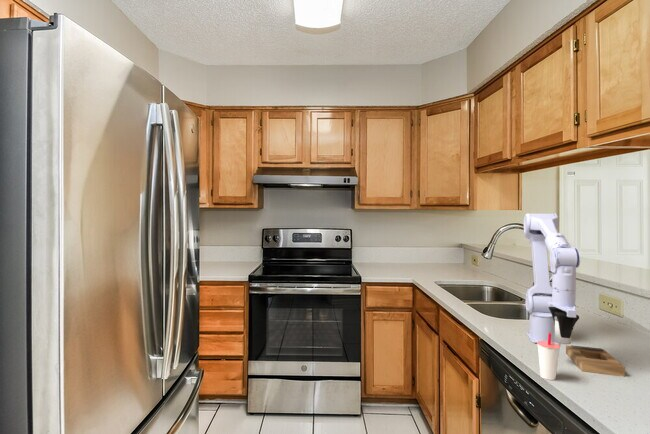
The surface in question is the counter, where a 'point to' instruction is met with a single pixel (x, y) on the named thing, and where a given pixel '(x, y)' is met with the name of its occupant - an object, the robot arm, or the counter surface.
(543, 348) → the cup
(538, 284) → the robot arm
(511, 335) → the counter surface
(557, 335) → the salt shaker
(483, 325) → the counter surface
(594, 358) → the jig
